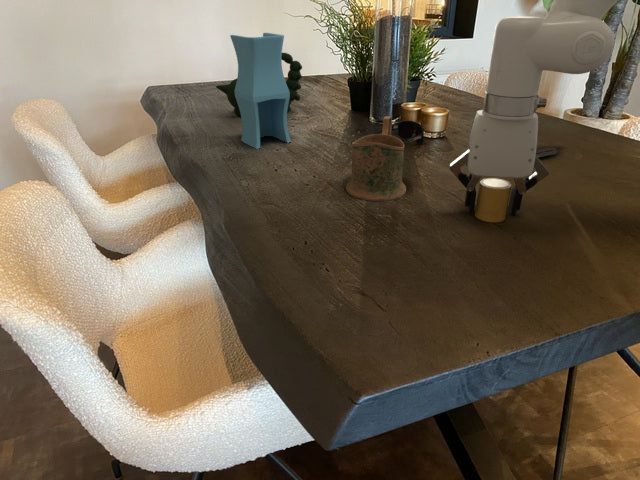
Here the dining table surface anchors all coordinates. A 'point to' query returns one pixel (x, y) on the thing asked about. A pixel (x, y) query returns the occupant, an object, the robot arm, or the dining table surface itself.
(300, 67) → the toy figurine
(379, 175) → the bronze bell
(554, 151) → the knife
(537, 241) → the dining table surface
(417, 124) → the sunglasses
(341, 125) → the dining table surface
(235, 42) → the teal arched pillar
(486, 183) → the candle holder
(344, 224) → the dining table surface
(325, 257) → the dining table surface
